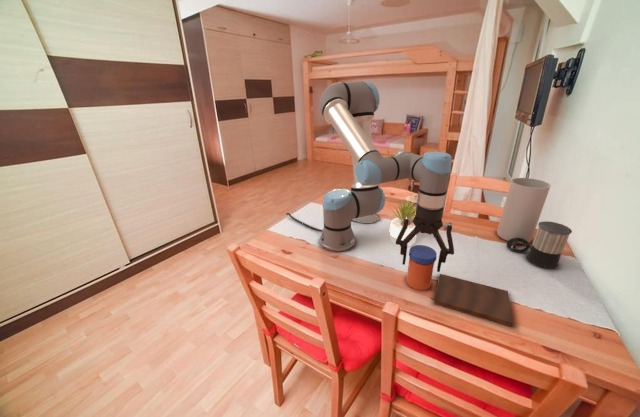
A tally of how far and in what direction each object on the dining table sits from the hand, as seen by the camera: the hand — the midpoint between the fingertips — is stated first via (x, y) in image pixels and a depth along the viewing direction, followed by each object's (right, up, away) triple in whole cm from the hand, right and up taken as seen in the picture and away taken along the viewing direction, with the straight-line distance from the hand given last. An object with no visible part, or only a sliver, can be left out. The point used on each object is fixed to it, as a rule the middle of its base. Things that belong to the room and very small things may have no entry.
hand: (420, 265), depth 87 cm
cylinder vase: (+51, +7, +27) cm, 58 cm away
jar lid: (0, +5, -2) cm, 5 cm away
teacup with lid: (+16, +16, +51) cm, 56 cm away
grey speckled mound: (-14, +16, +52) cm, 56 cm away
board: (+14, -9, -5) cm, 17 cm away
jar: (0, -6, +3) cm, 7 cm away
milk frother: (+48, +1, +14) cm, 50 cm away
